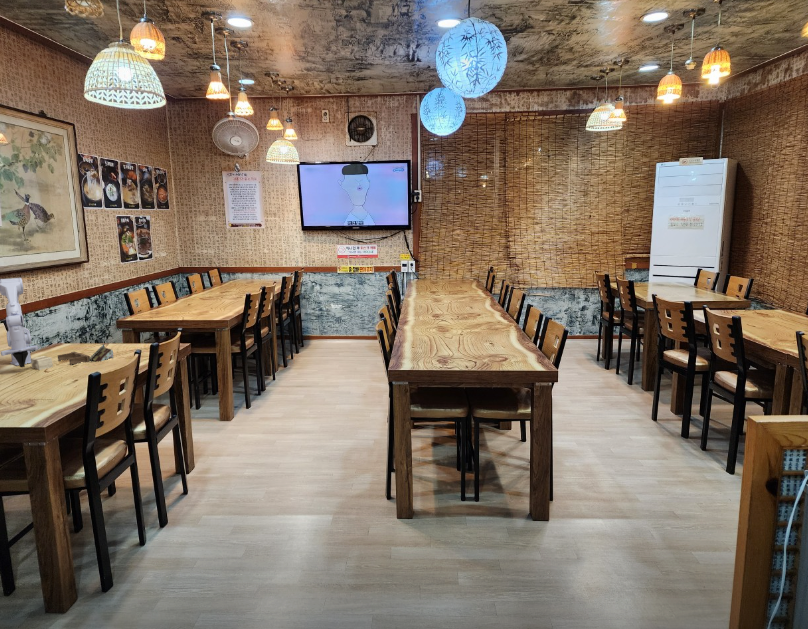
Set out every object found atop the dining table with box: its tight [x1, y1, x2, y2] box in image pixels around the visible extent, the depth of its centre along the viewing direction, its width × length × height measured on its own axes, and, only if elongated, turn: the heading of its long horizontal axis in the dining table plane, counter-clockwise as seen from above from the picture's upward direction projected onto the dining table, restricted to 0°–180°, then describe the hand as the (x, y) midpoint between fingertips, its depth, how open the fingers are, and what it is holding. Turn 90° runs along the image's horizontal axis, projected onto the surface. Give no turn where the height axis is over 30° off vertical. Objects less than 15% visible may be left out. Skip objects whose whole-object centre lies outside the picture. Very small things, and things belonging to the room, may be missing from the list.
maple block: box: [30, 355, 54, 371], centre depth 258 cm, size 8×6×5 cm
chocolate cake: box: [89, 344, 114, 362], centre depth 273 cm, size 10×7×12 cm
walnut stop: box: [57, 351, 91, 366], centre depth 270 cm, size 18×8×3 cm, turn 54°
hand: (22, 366), depth 251 cm, fingers closed
